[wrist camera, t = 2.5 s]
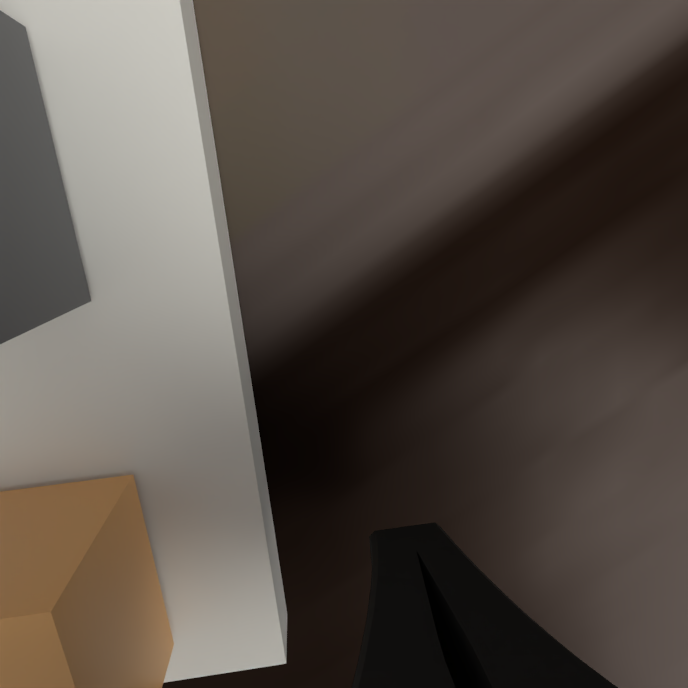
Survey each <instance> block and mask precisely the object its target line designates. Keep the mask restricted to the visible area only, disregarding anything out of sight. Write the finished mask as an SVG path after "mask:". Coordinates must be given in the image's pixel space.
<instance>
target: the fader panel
mask: <svg viewBox="0 0 688 688" xmlns="http://www.w3.org/2000/svg"><path fill="white" fill-rule="evenodd" d="M0 11H2V12H4V13H5V14H7V15H8V16H10V17H11V18H13V19H14V20H16V21H17V22H19V23H20V24H22V25H23V26H25V27H26V31H27V35H28V40H29V44H30V48H31V52H32V56H33V60H34V64H35V69H36V73H37V77H38V81H39V85H40V89H41V93H42V98H43V102H44V106H45V110H46V114H47V118H48V123H49V127H50V131H51V135H52V139H53V143H54V147H55V152H56V156H57V160H58V164H59V168H60V172H61V176H62V181H63V185H64V189H65V193H66V197H67V201H68V205H69V210H70V214H71V218H72V222H73V226H74V230H75V235H76V239H77V243H78V247H79V251H80V255H81V259H82V264H83V268H84V272H85V276H86V280H87V284H88V288H89V293H90V297H91V302H88V303H86V304H84V305H82V306H80V307H78V308H76V309H74V310H72V311H69V312H67V313H65V314H63V315H61V316H59V317H57V318H55V319H53V320H51V321H48V322H46V323H44V324H42V325H40V326H38V327H36V328H34V329H32V330H29V331H27V332H25V333H23V334H21V335H19V336H17V337H15V338H13V339H11V340H8V341H6V342H4V343H2V344H0V492H1V491H9V490H16V489H24V488H32V487H40V486H48V485H56V484H63V483H71V482H79V481H87V480H95V479H102V478H110V477H118V476H126V475H134V479H135V484H136V488H137V492H138V496H139V500H140V504H141V508H142V513H143V517H144V521H145V525H146V529H147V533H148V537H149V542H150V546H151V550H152V554H153V558H154V562H155V567H156V571H157V575H158V579H159V583H160V587H161V591H162V596H163V600H164V604H165V608H166V612H167V616H168V620H169V625H170V629H171V633H172V637H173V641H174V646H173V650H172V653H171V657H170V661H169V664H168V668H167V671H166V675H165V679H164V682H171V681H177V680H184V679H190V678H196V677H203V676H209V675H216V674H222V673H229V672H235V671H242V670H248V669H254V668H261V667H267V666H274V665H280V664H286V651H287V609H286V602H285V596H284V589H283V583H282V577H281V570H280V564H279V557H278V551H277V544H276V538H275V531H274V525H273V518H272V512H271V505H270V499H269V492H268V486H267V479H266V473H265V466H264V460H263V453H262V447H261V440H260V434H259V427H258V421H257V414H256V408H255V401H254V395H253V389H252V382H251V376H250V369H249V363H248V356H247V350H246V343H245V337H244V330H243V324H242V317H241V311H240V304H239V298H238V291H237V285H236V278H235V272H234V265H233V259H232V252H231V246H230V239H229V233H228V226H227V220H226V213H225V207H224V201H223V194H222V188H221V181H220V175H219V168H218V162H217V155H216V149H215V142H214V136H213V129H212V123H211V116H210V110H209V103H208V97H207V90H206V84H205V77H204V71H203V64H202V58H201V51H200V45H199V38H198V32H197V26H196V19H195V13H194V6H193V0H0ZM164 682H163V683H164Z"/></svg>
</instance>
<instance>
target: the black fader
mask: <svg viewBox="0 0 688 688" xmlns="http://www.w3.org/2000/svg"><path fill="white" fill-rule="evenodd" d="M88 302H91V297H90V293H89V288H88V284H87V280H86V276H85V272H84V268H83V264H82V259H81V255H80V251H79V247H78V243H77V239H76V235H75V230H74V226H73V222H72V218H71V214H70V210H69V205H68V201H67V197H66V193H65V189H64V185H63V181H62V176H61V172H60V168H59V164H58V160H57V156H56V152H55V147H54V143H53V139H52V135H51V131H50V127H49V123H48V118H47V114H46V110H45V106H44V102H43V98H42V93H41V89H40V85H39V81H38V77H37V73H36V69H35V64H34V60H33V56H32V52H31V48H30V44H29V40H28V35H27V31H26V27H25V26H23V25H22V24H20V23H19V22H17V21H16V20H14V19H13V18H11V17H10V16H8V15H7V14H5V13H4V12H2V11H0V344H2V343H4V342H6V341H8V340H11V339H13V338H15V337H17V336H19V335H21V334H23V333H25V332H27V331H29V330H32V329H34V328H36V327H38V326H40V325H42V324H44V323H46V322H48V321H51V320H53V319H55V318H57V317H59V316H61V315H63V314H65V313H67V312H69V311H72V310H74V309H76V308H78V307H80V306H82V305H84V304H86V303H88Z"/></svg>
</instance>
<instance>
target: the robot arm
mask: <svg viewBox="0 0 688 688" xmlns="http://www.w3.org/2000/svg"><path fill="white" fill-rule="evenodd" d="M369 538H370V549H371V560H372V579H371V590H370V597H369V605H368V613H367V620H366V625H365V630H364V635H363V640H362V645H361V650H360V655H359V660H358V664H357V669H356V673H355V677H354V681H353V685H352V688H618V687H616V686H615V685H613V684H612V683H611V682H609V681H608V680H607V679H605V678H604V677H603V676H601V675H600V674H599V673H597V672H596V671H595V670H593V669H592V668H591V667H589V666H588V665H587V664H585V663H584V662H583V661H582V660H580V659H579V658H578V657H576V656H575V655H574V654H573V653H571V652H570V651H569V650H568V649H566V648H565V647H564V646H563V645H562V644H560V643H559V642H558V641H557V640H556V639H554V638H553V637H552V636H551V635H550V634H548V633H547V632H546V631H545V630H544V629H543V628H542V627H540V626H539V625H538V624H537V623H536V622H535V621H533V620H532V619H531V618H530V617H529V616H528V615H527V614H526V613H524V612H523V611H522V610H521V609H520V608H519V607H518V606H517V605H516V604H515V603H513V602H512V601H511V600H510V599H509V598H508V597H507V596H506V595H505V594H504V593H503V592H502V591H501V590H500V589H499V588H498V587H497V586H496V585H495V584H494V583H493V582H492V581H491V580H490V579H488V577H487V576H486V575H485V574H484V573H483V572H482V571H481V570H480V569H479V568H478V567H477V566H476V565H475V564H474V563H473V562H472V561H471V560H470V559H469V558H468V557H467V556H466V555H465V554H464V553H463V552H462V551H461V549H460V548H459V547H458V546H457V545H456V544H455V543H454V542H453V541H452V540H451V539H450V537H449V536H448V535H447V534H446V533H445V532H444V531H443V529H442V528H441V527H440V526H438V525H437V524H436V523H429V524H421V525H414V526H407V527H400V528H393V529H385V530H378V531H374V532H373V533H372V534H371V536H370V537H369Z"/></svg>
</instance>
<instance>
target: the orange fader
mask: <svg viewBox="0 0 688 688" xmlns="http://www.w3.org/2000/svg"><path fill="white" fill-rule="evenodd" d="M173 646H174V641H173V637H172V633H171V629H170V625H169V620H168V616H167V612H166V608H165V604H164V600H163V596H162V591H161V587H160V583H159V579H158V575H157V571H156V567H155V562H154V558H153V554H152V550H151V546H150V542H149V537H148V533H147V529H146V525H145V521H144V517H143V513H142V508H141V504H140V500H139V496H138V492H137V488H136V484H135V479H134V475H126V476H118V477H110V478H102V479H95V480H87V481H79V482H71V483H63V484H56V485H48V486H40V487H32V488H24V489H16V490H9V491H1V492H0V688H162V686H163V682H164V679H165V675H166V671H167V668H168V664H169V661H170V657H171V653H172V650H173Z"/></svg>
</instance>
